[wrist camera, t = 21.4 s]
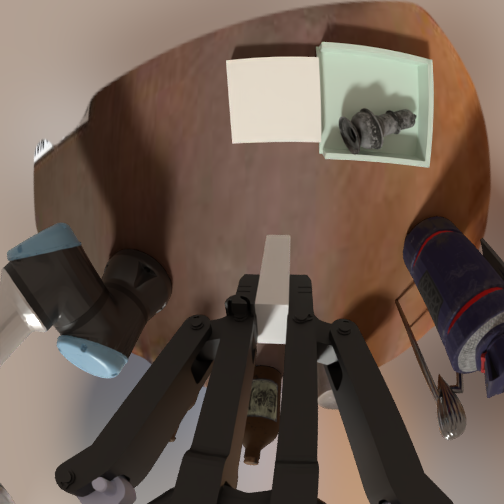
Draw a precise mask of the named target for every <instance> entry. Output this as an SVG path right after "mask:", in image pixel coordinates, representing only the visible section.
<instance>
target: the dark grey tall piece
mask: <svg viewBox="0 0 504 504" xmlns="http://www.w3.org/2000/svg"><path fill="white" fill-rule="evenodd" d="M416 117H417V115H415V114H413V113H412V112H411V111H410V110H408V109H402V110H398V111H395V112H393V111H391V110H388V111H386V113H385V114H381V115H374V114H373V113H372V112H371V111H370V110H369V109H366V108H362V109H361V110H360V112H357V113H356V114H355V115H354V116H353V117H352V119H351V121H350V120H348V119H347V118H346V117H340V118H339V130H340V133H341V136H342V139H343V141H344V143H345V145H346V147H347V148H348V150H349V151H350V152H351V153H352V154H354V155H357V154H358V153H359V151H360V146H362V147H363V148H366V149H377V150H378V149H381V147H382V146H383V137H385V136H386V135H390V134H393V133H394V134H399V133H400V131H401V130H404V129H408V128H411V127H413V126H414V125H415V119H416Z"/></svg>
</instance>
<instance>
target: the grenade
mask: <svg viewBox="0 0 504 504" xmlns="http://www.w3.org/2000/svg"><path fill="white" fill-rule="evenodd" d="M480 241H481V245H482V251H483V255H482V254H481V253H480V252H479V250H478V249H477V248H476V247H475V246H474V245H473V244H472V243H471V242H470V240H469V239H468V238H467V237H466V236H464V235H463V233H462V232H461V231H460V230H459V229H458V228H457V227H456V226H455V225H454V224H453V223H452V222H451V221H449V220H448V219H446V218H443V217H437V216H436V217H432V218H428V219H426V220H424V221H422V222H420V223H419V224H418V225H417V226H415V228H414V229H413V230H412V231H411V232H410V234H407V236H406V239H405V243H404V249H403V259H404V262H405V265H406V267H407V268H408V270H409V272H410V274H411V276H412V278H413V279H414V282H415V284H416V286H417V288H418V290H419V292H420V294H421V296H422V298H423V300H424V302H425V304H426V306H427V308H428V310H429V313H430V315H431V317H432V319H433V321H434V324H435V326H436V328H437V330H438V332H439V335H440V337H441V340H442V342H443V344H444V346H445V349H446V352H447V355H448V357H449V360H450V362H451V365H452V367H453V369H454V371H456V372H458V373H462V374H466V373H472V372H475V371H481V372H482V373H485V384H486V391H487V398H490V397H492V396H494V395H496V394H501V393H503V392H504V262H503V261H502V260H501V258H500V257H499V256H498V255H497V254H496V253H495V251H494V250H493V249H492V248H491V247H490V246H489V245H488V244H487V242H486V241H485V240H484V239H483V238H482V239H481V240H480Z"/></svg>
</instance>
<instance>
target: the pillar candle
mask: <svg viewBox="0 0 504 504" xmlns="http://www.w3.org/2000/svg"><path fill="white" fill-rule="evenodd" d="M317 377H318V404H319V405H320V406H321V407H323V408H326V409H338V406H337V403H336V400H335V397H334V394H333V391H332V389H331V386H330V383H329V380H328V377H327V374H326V371H325V368H324V366H323V364H322V363H319V362H317Z"/></svg>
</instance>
